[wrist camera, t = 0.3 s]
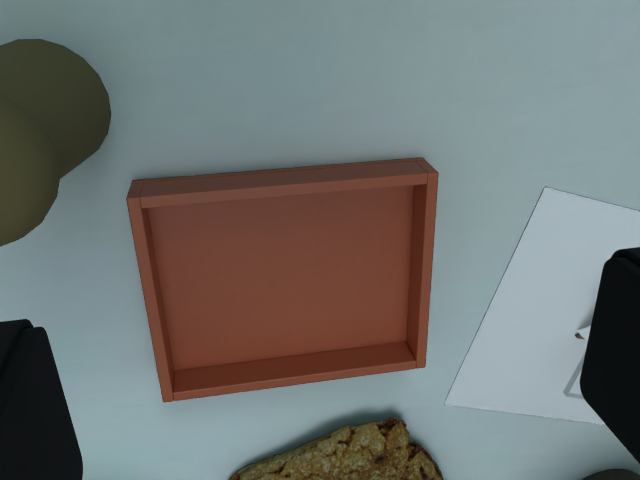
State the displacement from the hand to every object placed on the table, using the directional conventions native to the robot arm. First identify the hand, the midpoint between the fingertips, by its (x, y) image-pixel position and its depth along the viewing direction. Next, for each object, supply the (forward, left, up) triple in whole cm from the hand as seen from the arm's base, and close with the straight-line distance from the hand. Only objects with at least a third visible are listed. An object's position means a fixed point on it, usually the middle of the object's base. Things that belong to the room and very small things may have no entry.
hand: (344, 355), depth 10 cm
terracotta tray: (+10, +1, -21) cm, 23 cm away
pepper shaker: (0, -10, -21) cm, 23 cm away
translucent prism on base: (+16, +20, -21) cm, 33 cm away
